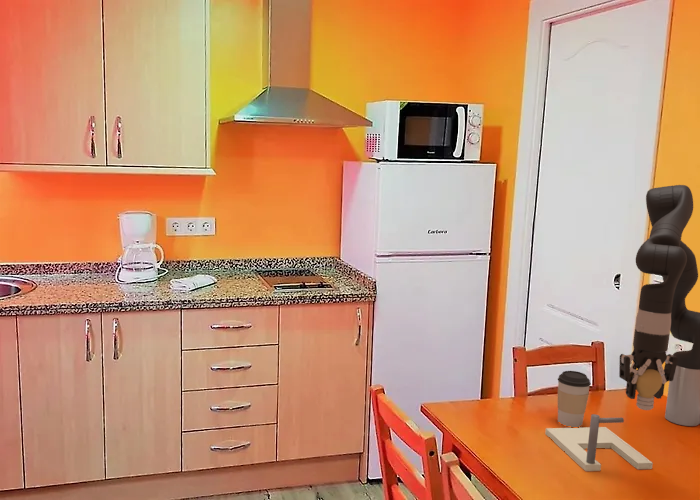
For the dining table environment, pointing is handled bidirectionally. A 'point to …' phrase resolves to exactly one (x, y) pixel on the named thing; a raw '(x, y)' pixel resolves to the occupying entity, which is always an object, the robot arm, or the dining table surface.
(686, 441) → the dining table surface
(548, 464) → the dining table surface
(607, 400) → the dining table surface
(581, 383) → the coffee cup
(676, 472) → the dining table surface
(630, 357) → the robot arm
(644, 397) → the light bulb
